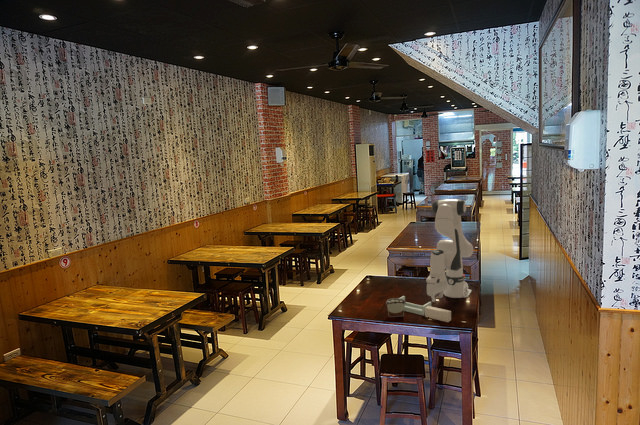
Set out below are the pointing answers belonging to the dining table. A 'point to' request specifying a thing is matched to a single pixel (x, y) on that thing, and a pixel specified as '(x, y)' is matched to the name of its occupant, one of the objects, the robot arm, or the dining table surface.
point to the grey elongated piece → (415, 307)
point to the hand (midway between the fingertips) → (437, 299)
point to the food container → (395, 307)
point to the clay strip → (438, 313)
